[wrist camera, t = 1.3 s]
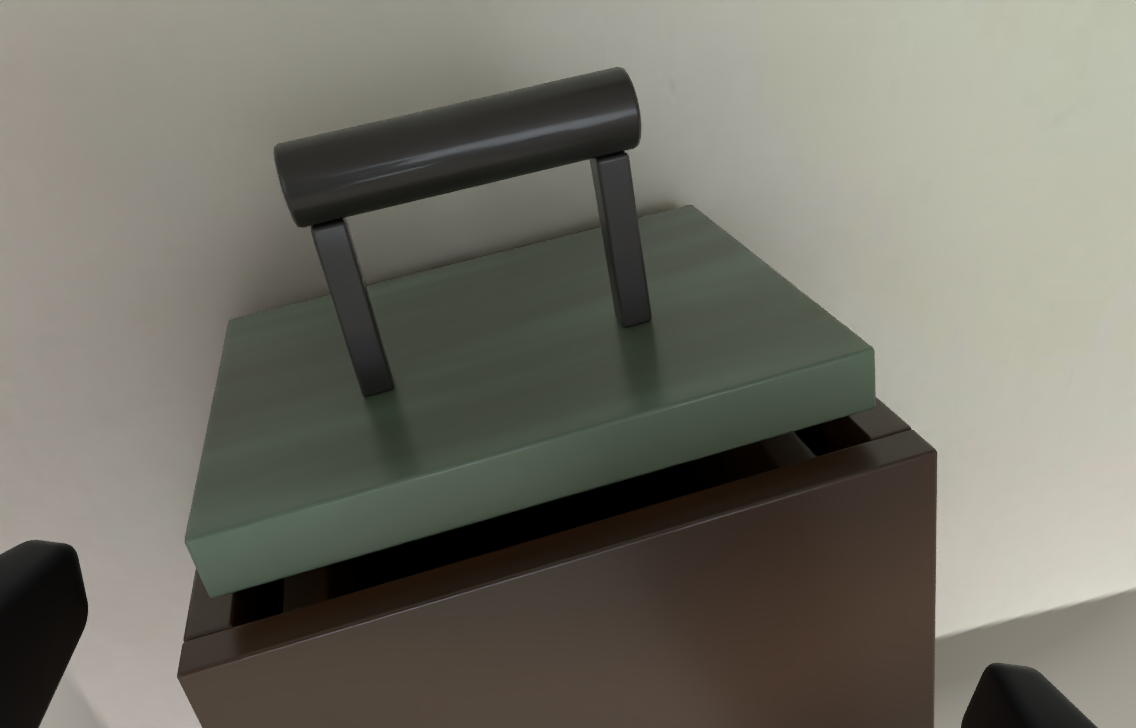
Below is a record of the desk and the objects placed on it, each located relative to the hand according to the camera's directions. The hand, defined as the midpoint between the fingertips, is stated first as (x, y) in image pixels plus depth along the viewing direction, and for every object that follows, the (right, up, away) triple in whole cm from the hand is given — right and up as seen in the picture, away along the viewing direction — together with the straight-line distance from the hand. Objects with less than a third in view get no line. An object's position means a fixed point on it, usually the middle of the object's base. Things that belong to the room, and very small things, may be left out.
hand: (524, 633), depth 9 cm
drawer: (-2, +3, +14) cm, 15 cm away
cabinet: (-1, -1, +17) cm, 18 cm away
